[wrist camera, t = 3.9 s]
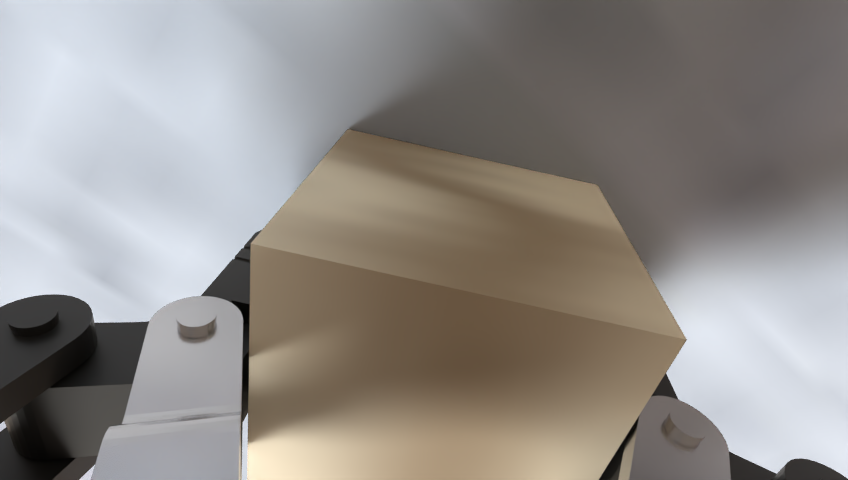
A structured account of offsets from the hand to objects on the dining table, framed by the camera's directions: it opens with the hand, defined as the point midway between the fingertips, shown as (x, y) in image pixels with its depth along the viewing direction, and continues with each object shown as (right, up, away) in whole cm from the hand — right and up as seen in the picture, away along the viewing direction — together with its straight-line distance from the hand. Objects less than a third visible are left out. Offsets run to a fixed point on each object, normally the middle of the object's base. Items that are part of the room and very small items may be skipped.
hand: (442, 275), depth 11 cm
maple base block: (0, 0, +1) cm, 1 cm away
